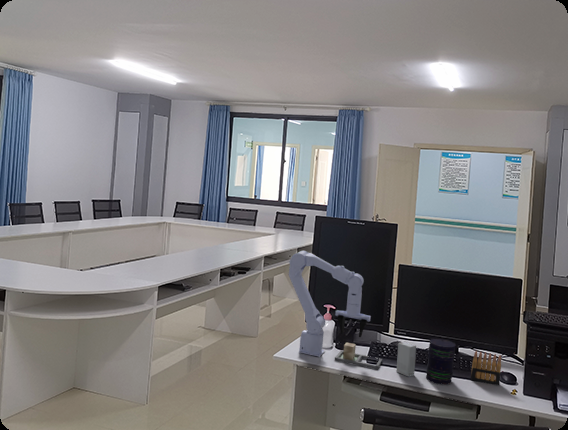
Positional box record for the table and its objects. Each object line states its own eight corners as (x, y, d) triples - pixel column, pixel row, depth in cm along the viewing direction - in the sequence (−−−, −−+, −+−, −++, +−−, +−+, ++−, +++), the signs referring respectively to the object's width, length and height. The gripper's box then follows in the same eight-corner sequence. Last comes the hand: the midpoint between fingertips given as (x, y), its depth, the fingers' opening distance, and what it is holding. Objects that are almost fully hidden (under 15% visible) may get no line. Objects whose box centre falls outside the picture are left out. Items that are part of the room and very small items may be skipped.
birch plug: (342, 359, 217) (344, 345, 217) (345, 356, 221) (346, 342, 221) (352, 361, 216) (353, 347, 215) (354, 358, 220) (355, 344, 219)
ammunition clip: (470, 380, 206) (473, 350, 205) (470, 378, 208) (473, 349, 207) (499, 385, 203) (502, 355, 202) (499, 383, 205) (502, 354, 203)
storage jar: (451, 386, 198) (455, 348, 196) (424, 381, 201) (428, 344, 199) (451, 377, 207) (455, 341, 206) (426, 372, 210) (430, 336, 209)
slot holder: (334, 360, 216) (334, 357, 216) (340, 353, 225) (341, 350, 225) (377, 369, 209) (377, 366, 209) (382, 361, 219) (382, 358, 219)
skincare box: (414, 375, 207) (417, 345, 205) (407, 377, 204) (410, 347, 203) (402, 369, 211) (405, 340, 210) (395, 371, 208) (398, 342, 207)
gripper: (373, 303, 218) (370, 335, 219) (339, 298, 223) (337, 329, 224) (369, 307, 211) (366, 340, 212) (335, 301, 216) (332, 333, 217)
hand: (351, 334), depth 218 cm, fingers open, 7 cm apart
